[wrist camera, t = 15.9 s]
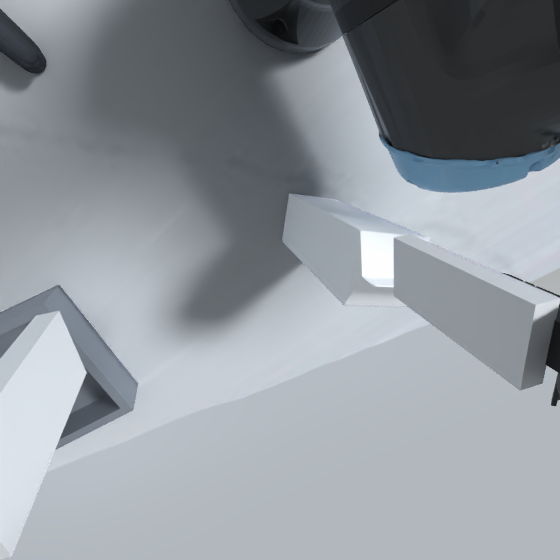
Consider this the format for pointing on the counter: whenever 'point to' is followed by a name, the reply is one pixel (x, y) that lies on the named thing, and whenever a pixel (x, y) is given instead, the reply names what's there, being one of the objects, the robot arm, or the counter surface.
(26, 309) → the bin
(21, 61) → the can opener
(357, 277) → the pale carton
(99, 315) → the counter surface
